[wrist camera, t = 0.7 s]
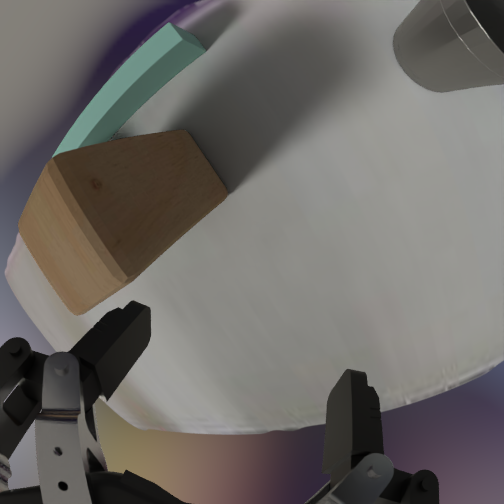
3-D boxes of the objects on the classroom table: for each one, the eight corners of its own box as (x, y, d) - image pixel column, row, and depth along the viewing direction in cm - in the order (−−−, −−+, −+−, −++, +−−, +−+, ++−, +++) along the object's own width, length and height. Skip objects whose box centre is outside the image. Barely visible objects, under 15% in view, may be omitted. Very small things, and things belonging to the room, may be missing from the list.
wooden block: (187, 125, 30) (47, 150, 12) (233, 193, 32) (132, 284, 15) (135, 171, 34) (12, 227, 17) (175, 231, 37) (73, 322, 19)
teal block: (194, 35, 24) (169, 22, 19) (206, 51, 25) (182, 39, 20) (80, 149, 34) (52, 157, 29) (88, 163, 35) (60, 173, 30)
